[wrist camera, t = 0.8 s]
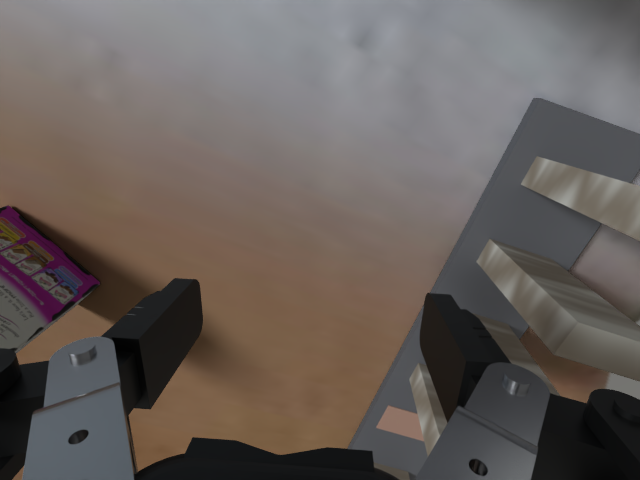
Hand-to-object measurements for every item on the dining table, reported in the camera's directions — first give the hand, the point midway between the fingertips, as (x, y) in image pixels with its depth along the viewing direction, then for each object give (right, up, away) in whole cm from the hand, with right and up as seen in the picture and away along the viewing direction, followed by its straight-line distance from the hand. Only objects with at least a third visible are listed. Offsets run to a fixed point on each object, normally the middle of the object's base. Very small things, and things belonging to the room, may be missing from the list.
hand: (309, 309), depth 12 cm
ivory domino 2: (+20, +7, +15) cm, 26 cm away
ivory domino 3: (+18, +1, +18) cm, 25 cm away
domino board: (+14, -9, +24) cm, 29 cm away
